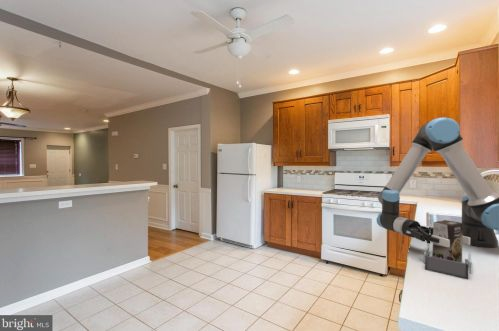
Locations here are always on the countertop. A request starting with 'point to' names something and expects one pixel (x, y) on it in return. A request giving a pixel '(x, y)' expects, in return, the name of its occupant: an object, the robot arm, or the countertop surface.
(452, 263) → the gray u-shaped bracket
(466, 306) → the countertop surface
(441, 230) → the coffee box
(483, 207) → the robot arm
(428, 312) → the countertop surface
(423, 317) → the countertop surface
